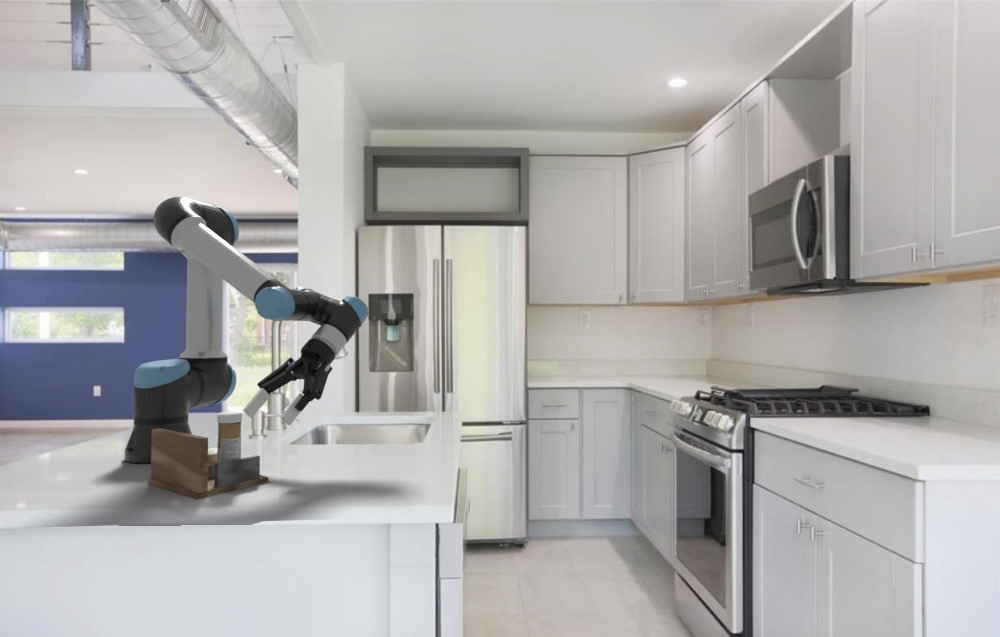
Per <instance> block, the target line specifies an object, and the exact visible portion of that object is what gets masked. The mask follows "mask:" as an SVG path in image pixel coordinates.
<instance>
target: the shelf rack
mask: <svg viewBox="0 0 1000 637" xmlns="http://www.w3.org/2000/svg"><path fill="white" fill-rule="evenodd" d="M217 448H218V447H215V446H214V447H209V437H207V436H200V435H195V434H192V435H191V434H186V433H181V432H176V431H171V430H166V429H161V428H158V429H152V445H151V463H150V464H151V465H150V478H148V479H147V480H148V485H149V486H152V487H156V488H160V489H163V490H165V491H169V492H172V493H176V494H179V495H183V496H186V497H189V498H193V499H196V500H198V499H203V498H207V497H212V496H216V495H219V494H223V493H228V492H231V491H232V492H233V491H235V490H240V489H243V488H248V487H251V486H252V487H253V486H257V485H260V484H265V483H269V476H266V475H262V474H260V473H261V471H260V468H261V457H260V455H258V454H256V455H250V456H244V457H241V458H239V459H234V460H228V461H223V462H218V463H217Z"/></svg>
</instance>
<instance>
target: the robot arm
mask: <svg viewBox="0 0 1000 637" xmlns="http://www.w3.org/2000/svg"><path fill="white" fill-rule="evenodd" d="M238 224H239V223H238V221H237V219H236V218H235V216H234V215H233V214H232V213H231V212H230V211H228V210H227V209H225V208H222V207H220V206H218V205H215V204H210V203H206V202H202V201H198V200H195V199H192V198H189V197H184V196H172V197H169V198H167V199H165V200H163V201H162V202H160V203H159V204H158V205H157V207H156V209H155V210H154V214H153V226H154V227H155V231H156V233H158V235H159V236H160V237H161V238H162V239H163V240H164V241H166V242H167V243H168V244H169V245H171V246H172V247H173V248H175V249H176V250H178V251H180V254H181V255H182V256H184V257H185V258H186V260H187V263H186V264H187V265H186V266H187V268H186V269H187V272H186V273H187V274H186V276H187V278H186V320H185V321H186V324H185V326H186V328H185V330H186V331H185V350H184V351H183V352H182V353H181V354H180V355H179V357H178V358H174V359H173V358H172V359H163V360H162V359H161V360H160V359H159V360H153V361H148V362H145V363H142V364H139V365H138V366H137V367H136V369H135V371H134V379H133V426H132V427H133V428H132V430H131V434H130V436H129V439H128V441H127V443H126V447H125V449H124V461H125V462H127V463H132V464H151V445H152V429H158V428H161V429H166V430H171V431H176V432H181V433H186V434H191V435H193V432H192V430H191V427H190V425H189V424H190V423H189V413H190V412H189V410H190V409H197V408H202V407H213V406H215V405H217V404H221V403H223V402H225V401H227V400H228V399H229V398H230V397H231V396H232V395H233V393H234V391H235V388H236V385H237V373H236V371H235V370H234V369H233V366H232V365H231V364H230V363H228V359H229V358H228V355H227V353H226V352H225V351H223V349H222V348H223V347H222V344H223V343H222V342H223V341H222V339H223V337H222V336H223V290H224V289H223V287H224V286H223V285H224V284H223V283H224V282H226V283H227V284H229V285H230V286H231V287H232V288H234V289H236V291H238V292H240V294H242V295H243V296H244V297H246V298H247V299H248V300H249V301H250V302H252V303H254V307H255V309H256V312H257V314H258V315H259V316H260V317H262V319H265V320H269V321H273V322H274V321H275V322H281V321H282V322H284V321H288V322H289V321H291V322H310V323H313V324H316V325H318V326H319V327H318V328H317V329H316V331H315V332H314V333H313V334H312V335H311V336H310V337H311V338H309V339H308V340H307V341H306V342H305V344H304V345H303V346H302V347H301V349H300V357H299V358H298V359H296V360H294V358H292V357H289V358H287V360H286V361H285V362H284V363H283V364H281V365H280V366H279V367H278V368H276V369H274V371H272V372H270V374H268V375H267V376H266V377H264V378H262V380H260V381H259V382H258V383H257V385H256V386H257V387H258V388H259V390H258V392H257V393H256V394H255V395H254V396H253V397H252V398H251V400H250V401H249V402H248V403H247V404H246V406H245V407H243V409H242V412H244V413H245V414H246V415H247V416H248V417H249V419H252V418H253V417H255V415H256V414H257V413H258V411H259V410H260V409H261V408H262V406H264V404H265V403H266V402H267V401H268V400H269V398H270V397H271V394H272V393H273V392H275V391H277V390H278V389H280V388H282V387H284V386H285V385H287V384H288V383H289V384H290V382H295V381H297V380H303V390H301V391H300V392H301V393H298V395H296V397H295V398H294V399H293V401H292V402H291V403H290V405H289V406H287V408H286V409H285V410H284V412H283V413H282V414H281V415H280V419H282V421H283V422H284V423H285V424H287V426H291V425H292V424H293V422H294V421H295V420H296V418H297V417H299V415H300V414H301V412H302V411H304V409H305V408H306V407H307V405H308V404H309V403H310V402H313V400H314V399H316V400H320V399H321V398H322V395H323V393H324V390H325V388H326V385H327V380H328V378H329V375H330V373H331V372H332V371H333V367H332V366H331V364H332V363H333V362H334V360H335V359H336V357H337V356H338V355H339V353H341V351H342V350H343V349H344V347H345V346H346V345H347V343H349V341H350V340H351V338H352V337H353V336H354V335H355V334H356V333H357V331H358V330H359V329H360V328H361V327H362V326H363V324H364V322H365V321H366V319H367V318H368V316H369V312H370V311H369V307H368V305H367V303H365V301H363V299H361V298H360V297H358V296H356V295H345V297H344V298H342V299H341V300H338V299H334V298H332V297H329V296H327V295H324V294H323V293H320V292H317V291H316V290H314V289H311V288H307V287H304V286H296V287H295V288H289V287H287V286H286V285H284V284H283V283H282V282H281V281H280V280H278V279H277V278H275V277H274V276H273V275H272V274H270V273H269V272H268V271H267V270H265V269H263V268H262V267H261V266H259V265H258V264H256V262H255V261H253V260H251V259H250V258H249V257H247V256H246V255H245V254H243V253H242V252H241V251H240V250H238V249H237V248H235V247H234V246H235V244H236V243H237V242H238V240H239V236H240V235H239V234H240V228H239V225H238ZM223 281H224V282H223Z"/></svg>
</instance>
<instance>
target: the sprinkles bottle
mask: <svg viewBox="0 0 1000 637" xmlns="http://www.w3.org/2000/svg"><path fill="white" fill-rule="evenodd" d="M216 419H217V425H218V426H217V427H218V428H217V447H216V448H217V463H218V462H223V461H228V460H234V459H239V458H242V421H243V413H242V411H235V410H234V411H232V410H231V411H222V412H219V413H217V418H216Z"/></svg>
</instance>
